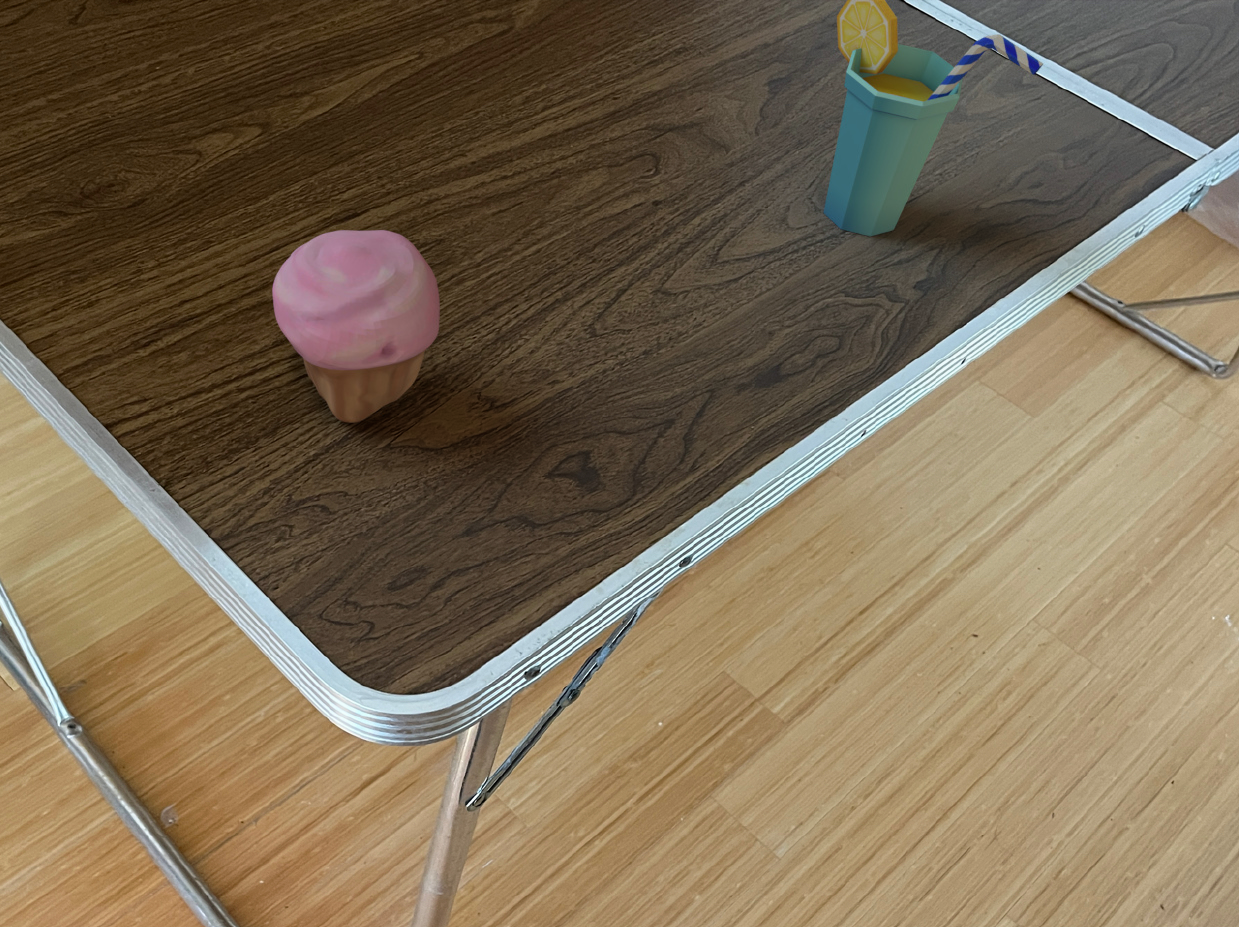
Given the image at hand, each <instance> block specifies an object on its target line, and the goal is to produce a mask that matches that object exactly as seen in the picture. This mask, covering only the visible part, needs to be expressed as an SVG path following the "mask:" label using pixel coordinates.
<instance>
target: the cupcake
mask: <svg viewBox="0 0 1239 927" xmlns="http://www.w3.org/2000/svg"><path fill="white" fill-rule="evenodd" d="M271 291H272V302H273V311H274V316H275V320H276V322H277V326H278V327H279V329H280V331H281V332H282V333H283V335H284V336H285V338H287V340H288V341H289V343H290V344H291V346H292V347H293V349H294V350H295V351H296V352H297V354H298V355H300V357H302V360H303V364H304V367H305V370H306V373H307V376H308V378H309V379H310V380H311V382H312V383H313V385H314V387H315V389H316V390H317V393H318V395H319V396H320V397H321V398H322V399H323V400H324V401H325V402H326V405H327V406H328V408H329V410H330V412H331V413H332V415H333V416H334V417H335V418H336V419H337V420H339V421H341V422H343V423H350V424H352V423H353V424H354V423H355V424H356V423H359V422H361V421H364V420H366V419H367V418H368V417H371V415H373V414H374V413H376V412H377V411H379V410H380V409H382V408H384V407H385V406H387V405H388V404H391V403H393V402H396V401H398V400H399V399H400V398H401V397H402V396H403V395H404V394H405V393H406V392H407V391H408V390H409V389H410V388H411V387H412V386H413V385H414V383H415V382H416V379H417V377H418V375H419V373H420V370H421V367H422V363H423V360H424V357H425V352H426V350H427V349H428V348H429V347H431V345H432V344H433V343H434V342H435V340H436V339H437V337H438V335H439V332H440V319H441V318H440V315H441V314H440V313H441V312H440V311H441V306H440V305H441V304H440V303H441V301H440V292H439V287H438V282H437V277H436V276H435V274H434V272H433V269H432V268H431V267H430V265H429V264H428V262H427V261H426V260H425V258H424V257H423V255H422V254H421V253H420V251H419V250H418V249H417V247H416V246H415V245H414V243H412V241H410V240H409V239H407V237H405V236H403V235H401V234H400V233H397V232H393V231H391V230H390V231H389V230H387V229H386V230H385V229H377V230H375V229H374V230H349V229H348V230H347V229H341V230H335V231H329V232H325V233H322V234H320V235H318V236H315V237H313V238H312V239H310V240H309V241H307V242H305V243H304V244H303V243H302V244H301V245H300V246H298V247H297V248H296V249H295V250H294V251H292V253H291V254H290V256H289V257H288V258H287V259H286V261H284V263H282V265H281V266H280V268H279V270H278V272H277V273H276V275H275V277H274V280H273V284H272V290H271Z"/></svg>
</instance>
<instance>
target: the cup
mask: <svg viewBox="0 0 1239 927" xmlns="http://www.w3.org/2000/svg"><path fill="white" fill-rule="evenodd" d="M836 30H837V48H838V50H839V52H840V53H841V54H842V56H843V57H844V59H845V60H846V62H847V63H848V64H847V68H846V72H845V78H844V79H845V80H844V85H843V86H844V88H845V89H847V90H846V94H845V100H844V106H843V111H842V116H841V120H840V127H839V130H838V136H837V141H836V146H835V152H834V157H833V162H832V167H831V172H830V176H829V182H828V188H827V193H826V198H825V203H824V207H823V214H824V215H825V216H826V217H827V218H828V219H829V220H830V221H831V222H833V224H834V225H836V227H837V228H839V229H840V230H842V231H847V232H851V233H855V234H859V235H862V236H866V237H874V236H877V235H880V234H885V233H888V232H891V231H894V230H895V228H896V226H897V224H898V222H899V219H900V217H901V215H902V213H903V211H904V208H905V206H906V205H907V202H908V200H909V198H910V196H911V193H912V191H913V190H914V187H915V184H916V183H917V180H918V178H919V177H920V174H921V172H922V170H923V168H924V166H925V163H926V162H927V159H928V157H929V155H930V152H931V150H932V148H933V146H934V144H935V142H936V139H937V138H938V135H939V133H940V131H941V129H942V126H943V124H944V122H945V120H946V118H947V116H948V114H949V113H952V112H953V111H954V110H955V108H956V106H957V104H958V103H959V100H960V99H961V92H962V86H963V81H964V77H965V76H966V75H967V74H968V72H970V70H971V69H972V67H973V66H975V64H976V63H977V62H978V60H979V59H980V58H981V57H982V56H983V55H984V53H986V51H989V50H994V51H995V52H997V53H998V54H1000V55H1002V56H1003V57H1004V58H1006V59H1008V60H1009V61H1010V62H1012V63H1014V64H1016V65H1017V66H1019V67H1020V68H1022V69H1023V70H1025V71H1026V72H1028V73H1030V74H1031V75H1032V76H1035V75H1036V74H1037V73H1038V72H1039V71H1040V69H1042V67H1043V65H1044V63H1043V62H1042V61H1040V60H1038V59H1037V58H1036V57H1034V56H1033V55H1032V54H1030V53H1028V52H1027V51H1025V50H1024V49H1022V48H1021V47H1019V46H1018V45H1016V44H1015V43H1013V42H1012V41H1010V40H1009V39H1007V38H1006V37H1004V36H1003V35H1001V34H999V33H998V34H991V35H985V36H984V37H981V38H979V39H978V40H976V41H975V42H974V43H973V44H972V45H971V46H970V48H969V49H968V50H967V51H966V52H965V54H964V55H963V56H962V57H961V58H960V60H958V62H957V64H955V66H953V65H952V64H951V63H949V62H947V61H946V60H945V59H944V58H942V57H941V56H940V55H938V54H937V53H936V52H935V51H932V50H928V49H923V48H920V47H914V46H910V45H905V44H901V43H899V36H898V35H899V34H898V31H899V30H898V17H897V15H895V13H894V11H893V10H892V8H891V7H890V6H889V4H888V3H887V1H886V0H846V2H844V4H843V6H842V7H841V9H840V11H839V12H838V13H837V15H836Z"/></svg>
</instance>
